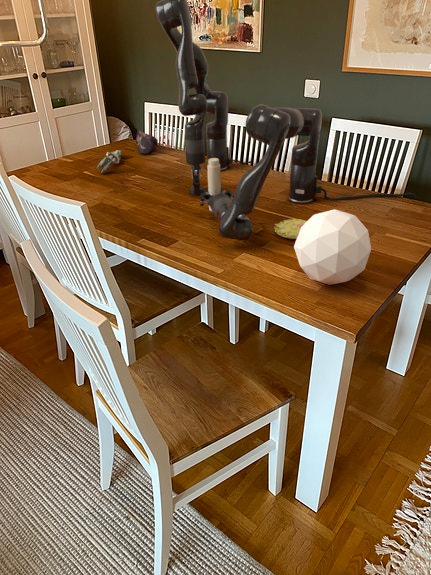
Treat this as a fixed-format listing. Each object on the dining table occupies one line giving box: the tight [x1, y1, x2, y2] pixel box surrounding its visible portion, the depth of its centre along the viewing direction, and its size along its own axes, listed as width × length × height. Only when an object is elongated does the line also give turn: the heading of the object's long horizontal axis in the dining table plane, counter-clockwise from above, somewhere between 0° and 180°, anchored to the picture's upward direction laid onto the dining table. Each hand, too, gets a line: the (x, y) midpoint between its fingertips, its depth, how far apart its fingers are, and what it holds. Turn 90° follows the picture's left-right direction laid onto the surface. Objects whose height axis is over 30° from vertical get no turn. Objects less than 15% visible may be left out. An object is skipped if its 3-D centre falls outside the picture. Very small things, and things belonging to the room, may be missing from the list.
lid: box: [189, 185, 204, 196], centre depth 179 cm, size 5×5×2 cm
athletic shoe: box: [135, 130, 162, 155], centre depth 233 cm, size 11×22×12 cm
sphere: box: [293, 208, 372, 286], centre depth 116 cm, size 19×20×20 cm
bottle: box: [206, 158, 222, 213], centre depth 160 cm, size 5×5×19 cm
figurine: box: [96, 150, 123, 174], centre depth 213 cm, size 7×8×30 cm
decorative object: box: [273, 218, 308, 240], centre depth 145 cm, size 21×2×20 cm
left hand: (197, 190), depth 179 cm, fingers open, 8 cm apart
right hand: (213, 191), depth 164 cm, fingers closed on bottle, 4 cm apart
